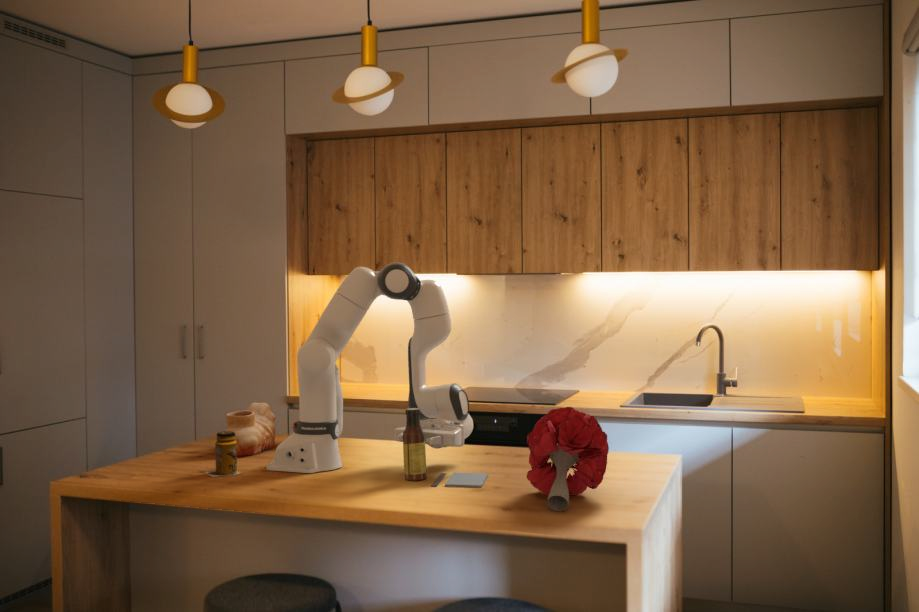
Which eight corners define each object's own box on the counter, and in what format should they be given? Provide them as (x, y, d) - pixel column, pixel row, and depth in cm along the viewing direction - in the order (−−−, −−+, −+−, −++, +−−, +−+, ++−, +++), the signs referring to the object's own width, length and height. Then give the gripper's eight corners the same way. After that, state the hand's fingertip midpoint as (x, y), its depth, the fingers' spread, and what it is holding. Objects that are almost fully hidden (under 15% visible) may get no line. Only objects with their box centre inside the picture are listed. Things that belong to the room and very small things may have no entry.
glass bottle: (307, 441, 306) (307, 361, 305) (330, 437, 313) (330, 359, 313) (325, 445, 299) (324, 363, 298) (348, 441, 307) (348, 361, 306)
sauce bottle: (430, 478, 247) (430, 408, 247) (417, 482, 242) (417, 410, 242) (411, 475, 251) (411, 406, 250) (398, 479, 246) (398, 409, 245)
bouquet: (609, 537, 212) (614, 455, 237) (598, 462, 201) (604, 384, 226) (522, 537, 218) (535, 457, 243) (506, 464, 206) (522, 388, 231)
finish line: (431, 486, 237) (431, 485, 237) (441, 473, 253) (441, 472, 253) (436, 486, 237) (436, 485, 237) (446, 473, 253) (446, 472, 253)
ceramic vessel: (286, 444, 302) (285, 400, 302) (251, 459, 277) (251, 411, 276) (249, 442, 305) (248, 399, 305) (211, 457, 280) (211, 410, 279)
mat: (445, 486, 237) (445, 484, 237) (453, 474, 252) (453, 472, 252) (481, 487, 236) (481, 485, 236) (488, 475, 250) (488, 473, 250)
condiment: (241, 474, 254) (241, 433, 254) (212, 477, 250) (212, 435, 250) (233, 469, 261) (232, 429, 260) (204, 473, 256) (204, 432, 256)
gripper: (408, 419, 263) (383, 426, 251) (468, 424, 253) (445, 431, 241) (408, 440, 263) (383, 448, 251) (468, 446, 254) (445, 454, 241)
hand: (414, 440), depth 246 cm, fingers open, 8 cm apart
